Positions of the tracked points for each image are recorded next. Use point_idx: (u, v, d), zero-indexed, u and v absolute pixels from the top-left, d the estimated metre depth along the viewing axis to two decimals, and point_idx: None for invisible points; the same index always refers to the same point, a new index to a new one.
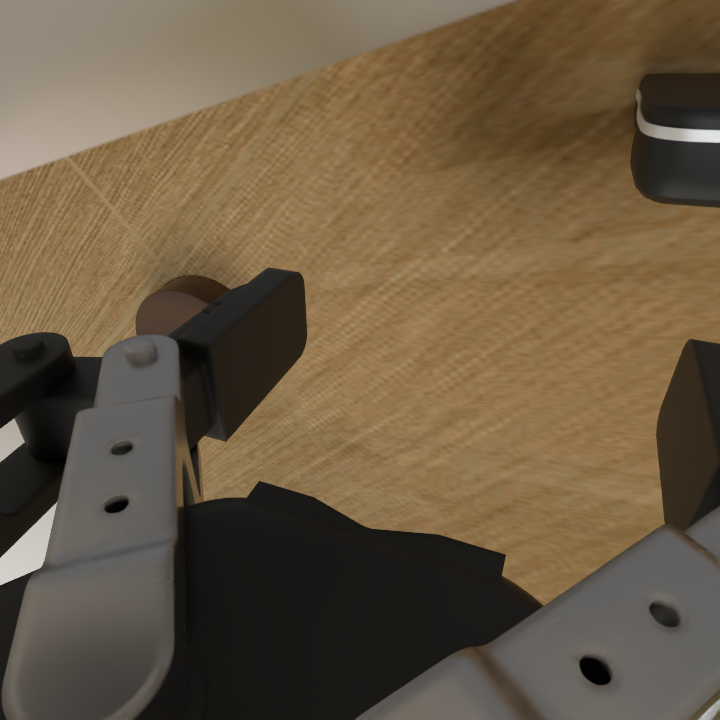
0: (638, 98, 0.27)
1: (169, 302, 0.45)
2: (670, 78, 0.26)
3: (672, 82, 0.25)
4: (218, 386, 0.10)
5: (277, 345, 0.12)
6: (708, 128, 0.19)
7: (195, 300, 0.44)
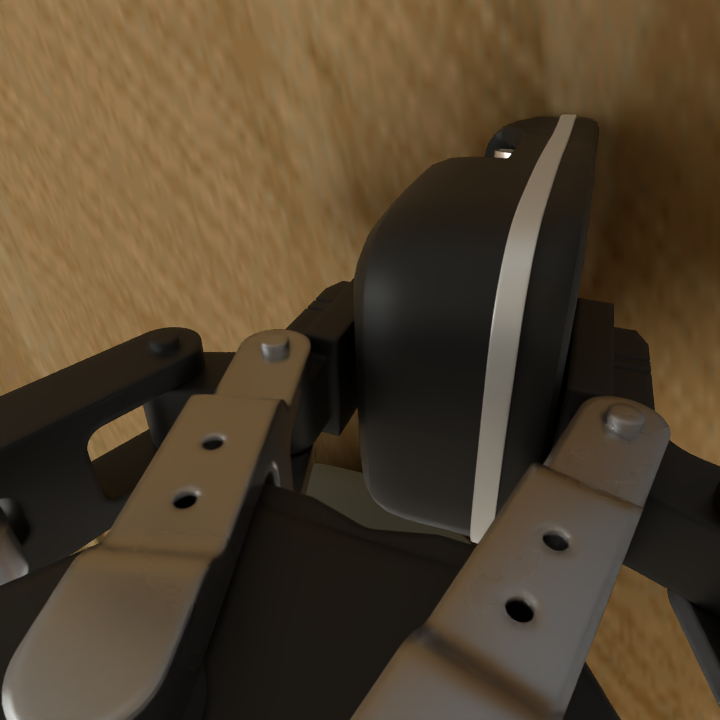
0: (563, 127, 0.14)
1: None
2: None
3: None
4: (339, 381, 0.10)
5: None
6: (517, 375, 0.08)
7: None
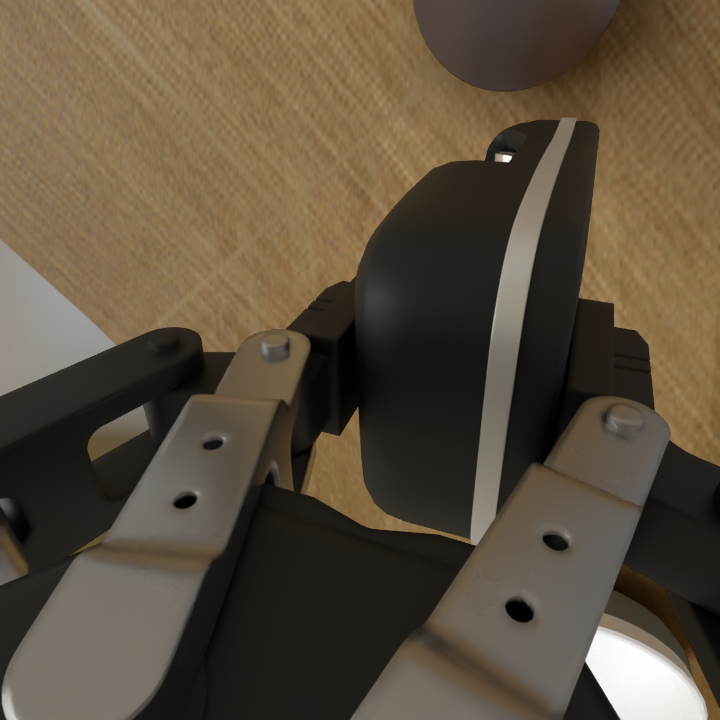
0: (563, 130, 0.14)
1: None
2: None
3: None
4: (339, 381, 0.10)
5: None
6: (516, 380, 0.08)
7: (610, 11, 0.28)
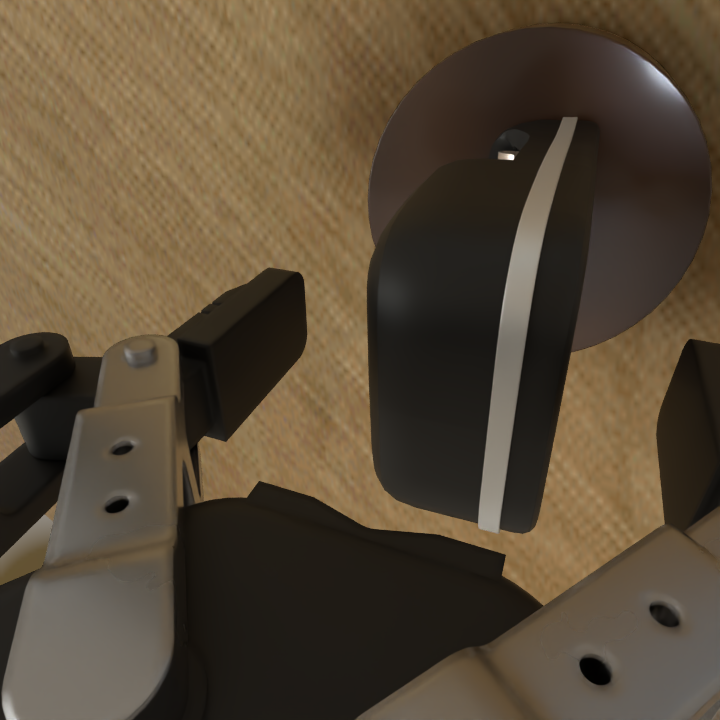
0: (565, 129, 0.15)
1: (673, 197, 0.17)
2: None
3: None
4: (218, 386, 0.10)
5: (277, 345, 0.12)
6: (524, 367, 0.09)
7: (669, 281, 0.18)
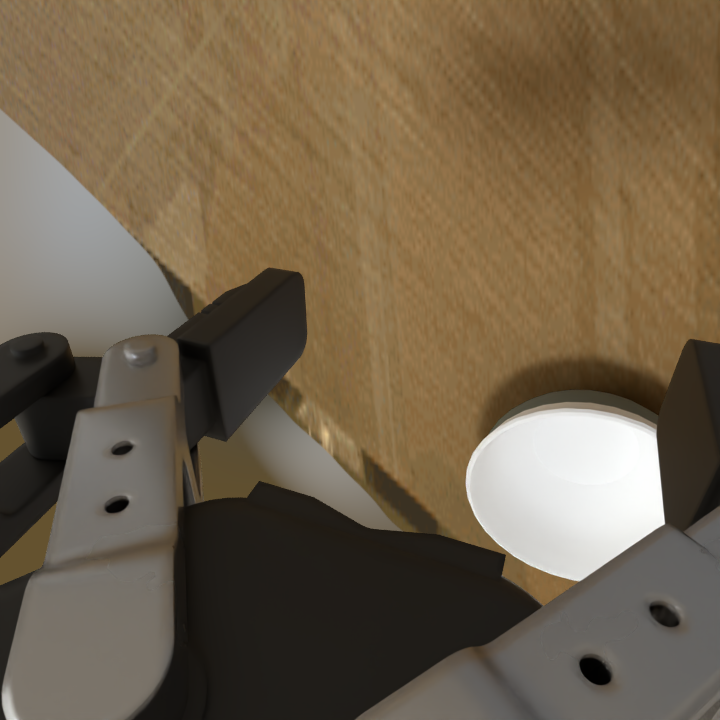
0: None
1: None
2: None
3: None
4: (218, 386, 0.10)
5: (277, 345, 0.12)
6: None
7: None
